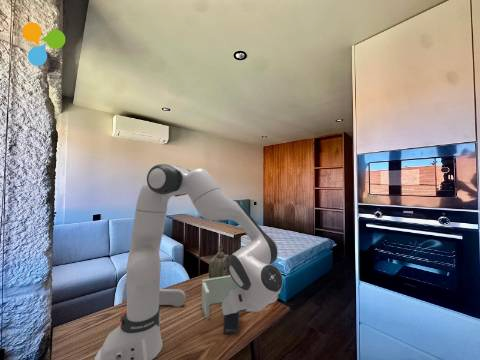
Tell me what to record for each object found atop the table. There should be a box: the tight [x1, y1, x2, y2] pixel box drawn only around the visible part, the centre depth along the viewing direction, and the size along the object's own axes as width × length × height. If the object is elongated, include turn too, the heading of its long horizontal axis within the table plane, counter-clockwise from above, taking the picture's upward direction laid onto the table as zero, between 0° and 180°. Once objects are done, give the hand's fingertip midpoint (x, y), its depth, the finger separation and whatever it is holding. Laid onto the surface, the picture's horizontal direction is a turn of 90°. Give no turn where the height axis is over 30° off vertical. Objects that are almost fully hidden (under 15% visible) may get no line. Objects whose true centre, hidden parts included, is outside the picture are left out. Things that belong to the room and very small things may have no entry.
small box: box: [223, 296, 240, 335], centre depth 91 cm, size 11×6×10 cm, turn 179°
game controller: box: [159, 288, 187, 308], centre depth 104 cm, size 20×2×8 cm, turn 89°
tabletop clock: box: [208, 243, 230, 279], centre depth 126 cm, size 14×9×25 cm, turn 164°
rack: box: [201, 275, 239, 319], centre depth 104 cm, size 20×12×13 cm, turn 111°
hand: (244, 307), depth 77 cm, fingers closed
